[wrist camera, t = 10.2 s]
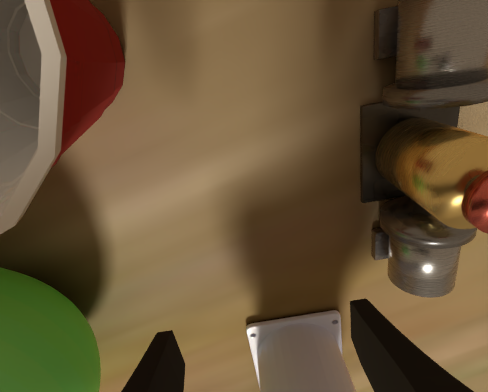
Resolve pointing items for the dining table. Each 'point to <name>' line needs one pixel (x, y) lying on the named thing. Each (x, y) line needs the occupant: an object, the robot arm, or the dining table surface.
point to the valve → (438, 170)
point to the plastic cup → (49, 89)
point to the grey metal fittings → (429, 107)
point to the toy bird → (44, 339)
